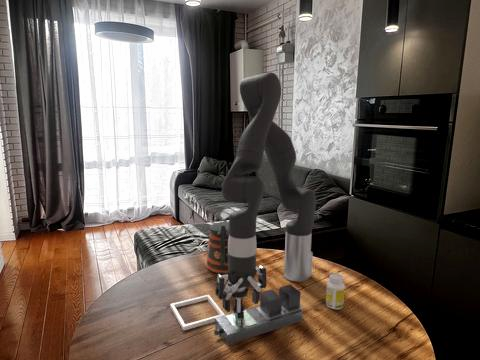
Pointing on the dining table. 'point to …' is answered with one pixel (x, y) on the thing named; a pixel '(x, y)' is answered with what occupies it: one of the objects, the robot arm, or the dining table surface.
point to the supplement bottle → (335, 292)
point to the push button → (239, 303)
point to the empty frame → (200, 322)
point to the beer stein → (218, 248)
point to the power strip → (262, 315)
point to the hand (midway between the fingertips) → (241, 306)
